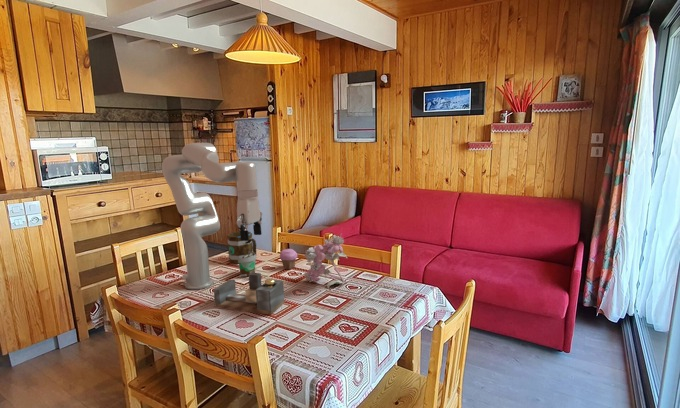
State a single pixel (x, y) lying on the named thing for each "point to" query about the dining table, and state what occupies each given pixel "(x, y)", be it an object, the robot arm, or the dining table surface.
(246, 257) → the food container
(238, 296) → the rail base
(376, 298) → the dining table surface
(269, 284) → the button
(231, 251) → the mug
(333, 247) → the flower
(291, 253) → the cupcake
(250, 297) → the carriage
